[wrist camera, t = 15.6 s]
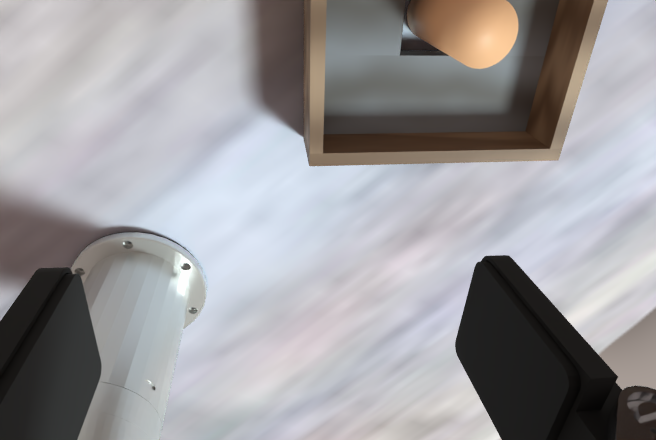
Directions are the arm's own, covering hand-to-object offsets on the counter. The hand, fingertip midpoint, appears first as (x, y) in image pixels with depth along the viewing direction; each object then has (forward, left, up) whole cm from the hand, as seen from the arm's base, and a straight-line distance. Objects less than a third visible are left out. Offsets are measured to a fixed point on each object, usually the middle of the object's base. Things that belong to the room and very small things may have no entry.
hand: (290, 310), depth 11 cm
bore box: (+3, -12, -29) cm, 32 cm away
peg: (+3, -12, -29) cm, 32 cm away
